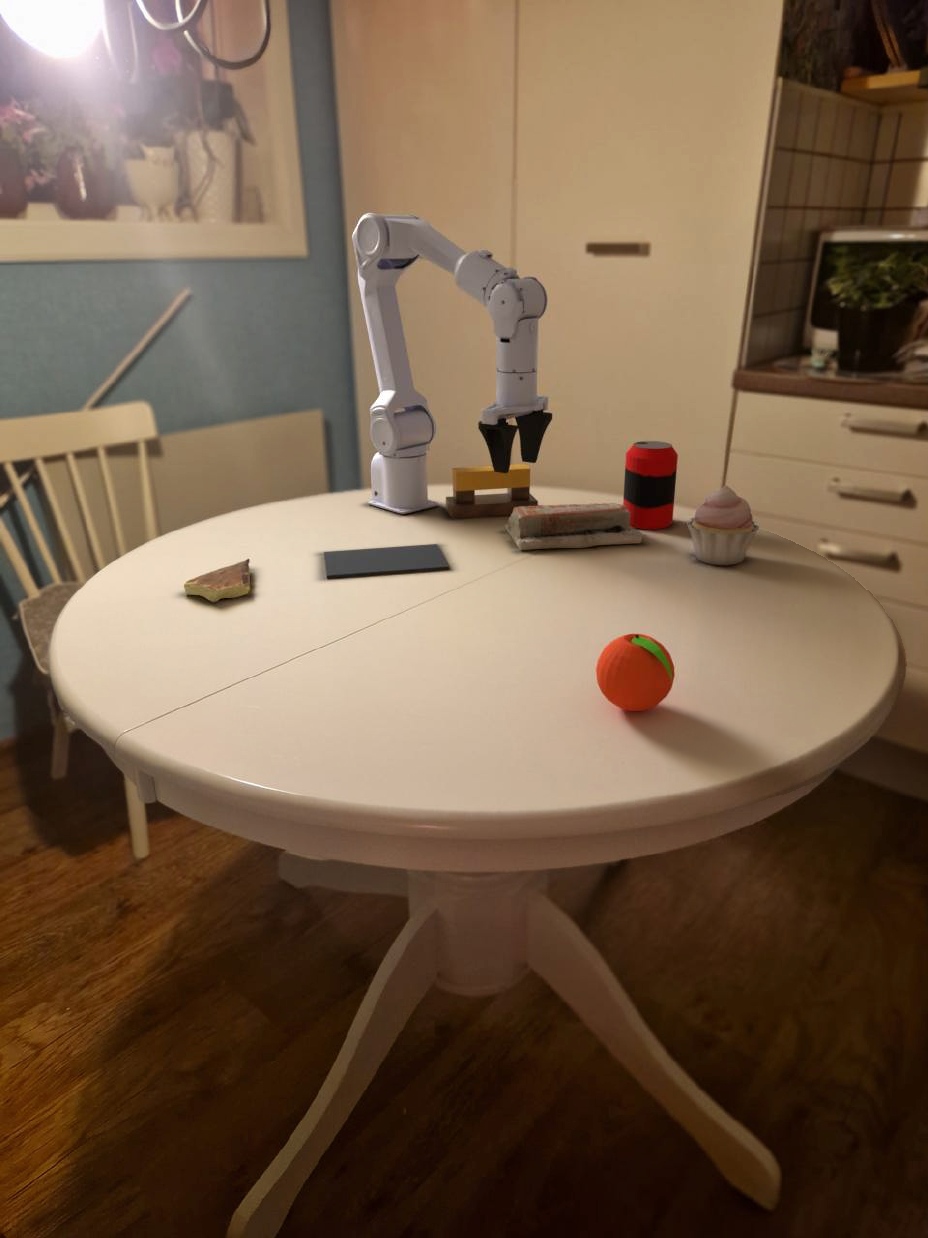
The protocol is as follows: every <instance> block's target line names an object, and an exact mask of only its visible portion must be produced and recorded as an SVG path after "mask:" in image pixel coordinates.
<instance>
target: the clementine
mask: <svg viewBox="0 0 928 1238" xmlns="http://www.w3.org/2000/svg"><path fill="white" fill-rule="evenodd" d="M595 672H596V673H595V674H596V683H597V685H598V687H599V690H600V692H601V693H602V694H603V696H604V697H605V699H606V700H607V701H608V702H609V703H611V704H612V705H614V706H616V707H617V708H619V709H621V710H623V711H629V712H643V711H646V710H649V709H653V708H654V707H656V706H658V705H659V704H660V703H662V701H664V700H665V699H666V698H667V697H668V695H669V693H670V692H671V690H672V687H673V683H674V680H675V673H676V672H675V665H674V661H673V659H672V657H671V654H670V651H668V649H667V648H666V647H665V646H664V645H663V644H662V643H661V642H660V641H658V640H657V639H655V638H653V637H652V636H649V635H647V634H643V633H627V634H624V635H621V636H619V637H616V638H615V639H613V640H611V641H610V642H609V643H608V644H607V645H606V646H605V647H604V648H603V649H602V651H601V653H600V655H599V657H598V659H597V663H596V668H595Z"/></svg>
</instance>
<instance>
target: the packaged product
mask: <svg viewBox="0 0 928 1238" xmlns="http://www.w3.org/2000/svg"><path fill="white" fill-rule="evenodd" d="M629 523H630V512H629V511H628V510H627V508H626V506H625V505H623V504H620V503H615V502H609V503H605V502H602V503H580V504H577V503H573V504H571V503H570V504H546V505H545V504H544V505H538V506H520V507H515V508H514V509H513V513H512V514H511V515H510V516H509V518H508V523H506V524H505V529H506V531H507V533H508V534H509V536H510V537H511V539H512V540H513V542H514V544H515V545H516V546H517V548H518V549H519V551H527V550H528V551H529V550H543V549H582V548H583V549H584V548H589V547H594V546H605V545H607V546H608V545H628V544H641V542H642V538H643V533H642V532H641V531H640V530H639V529H638V528H633V527H632V526H630V525H629Z"/></svg>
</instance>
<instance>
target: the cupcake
mask: <svg viewBox="0 0 928 1238" xmlns="http://www.w3.org/2000/svg"><path fill="white" fill-rule="evenodd" d="M686 525H687V527H688V530H689V532H690V534H691V539H692V543H693V544H692V545H693V550H694V557H695V558H696V559H697V560H698V561H700V562H702V563H705V564H710V565H714V566H733V565H738V564H740V563H742V562H743V561H744V559H745V557H746V554H747V551H748V549H749V547H750V544H751V541H752V539H753V538H754V536H755V534H756V533H757V532H758V530H759V529H760V526H759V525H758V524H755V521H754V520H753V514H752V509H751V507H750V504H749V502H748V501H747V500H746V499H745V498H743V497H741V496H738V495H737V493H736V492H735V491H734V490H733V489H732V488H731V487H729V486H728V485H724V486H723V487H721V488H720V489H718V490H715V491H713V492H712V493H710V494H708V495H707V496H706V497H705V499H704V502H703V503H702V504H700V506H698V507H697V508H696V510H695V513H694V517H691V518H690V520H688V521H686Z"/></svg>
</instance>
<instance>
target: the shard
mask: <svg viewBox="0 0 928 1238" xmlns="http://www.w3.org/2000/svg"><path fill="white" fill-rule="evenodd" d="M250 561H251V560H250V558H247V559H245V560H243V561H242V560H241V561H238V562H237V563H234V564H231V565H227V566H225V567H221V568H218V569H216V570H213V571H209V572H207V573H204V574H201V575H199V576H196V577H194V578H191V579H189V580H187V581H186V582H185V583H184V584H183V588H184V592H185V594H186V595H189V596H200V597H203V598H205V599H206V600H208V601H210V602H212V603H215V602H218V601H220V599H225V598H226V599H230V598H233V599H234V598H239V597H241V596H245V595H248V594H249V592H250V590H251V585H250V582H251V579H250V578H251V577H250V576H251V568H250Z"/></svg>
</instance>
